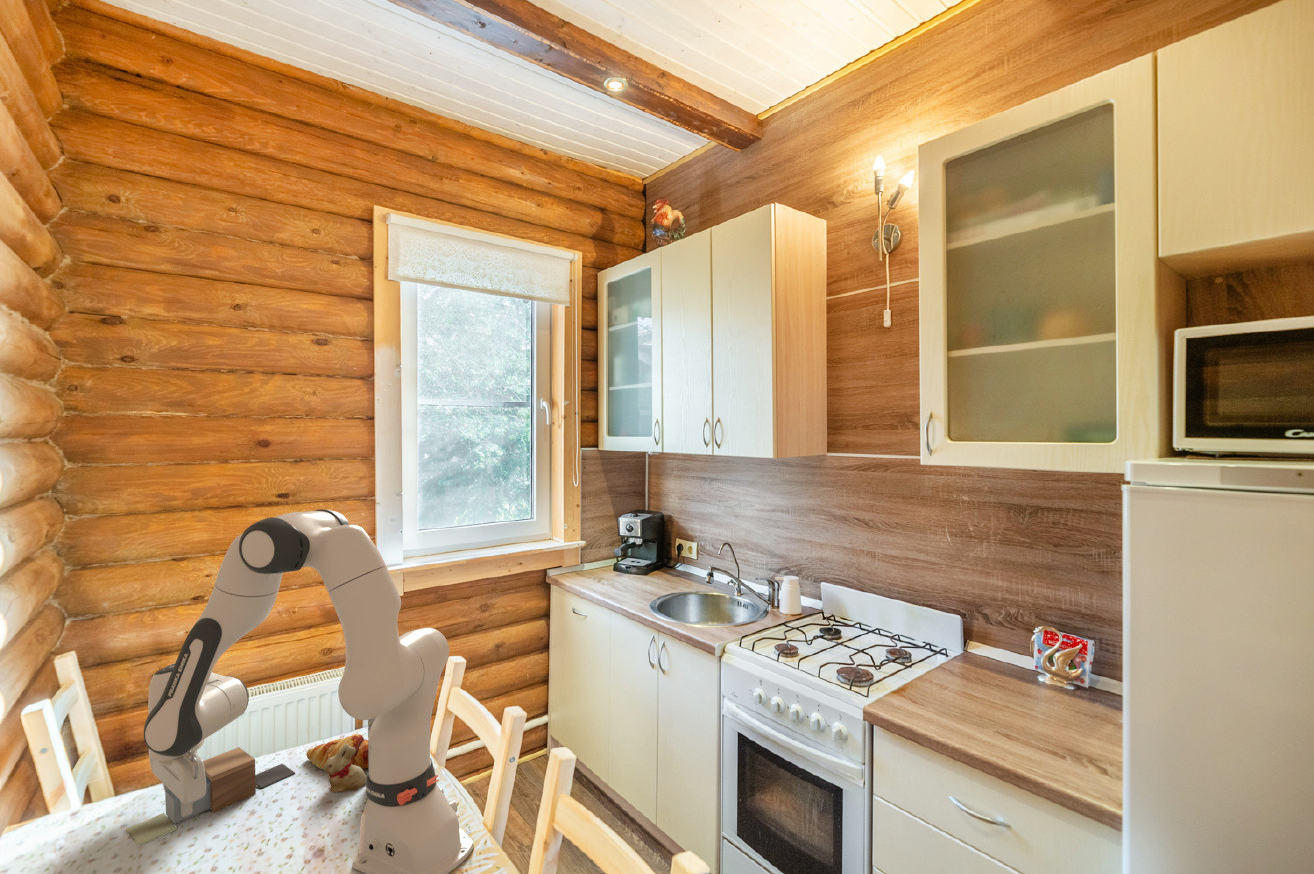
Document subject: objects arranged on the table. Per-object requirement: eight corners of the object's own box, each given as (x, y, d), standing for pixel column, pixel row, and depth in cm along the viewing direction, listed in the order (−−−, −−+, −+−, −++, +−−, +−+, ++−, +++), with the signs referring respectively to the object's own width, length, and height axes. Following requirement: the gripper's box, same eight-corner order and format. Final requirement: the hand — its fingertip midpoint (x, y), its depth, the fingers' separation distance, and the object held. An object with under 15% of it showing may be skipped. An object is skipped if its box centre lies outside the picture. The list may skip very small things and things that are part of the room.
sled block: (226, 800, 129) (225, 777, 129) (174, 823, 121) (173, 799, 121) (216, 792, 132) (216, 769, 132) (165, 814, 124) (165, 790, 124)
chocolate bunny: (338, 778, 138) (337, 735, 137) (370, 779, 137) (370, 736, 137) (322, 792, 132) (321, 748, 132) (356, 794, 132) (355, 749, 131)
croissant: (299, 781, 143) (286, 760, 139) (323, 741, 151) (312, 721, 147) (383, 785, 140) (372, 764, 136) (402, 744, 149) (393, 724, 145)
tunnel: (296, 775, 139) (296, 741, 139) (139, 846, 115) (138, 806, 115) (280, 763, 144) (279, 731, 143) (125, 829, 120) (124, 791, 120)
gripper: (215, 749, 120) (216, 817, 121) (178, 721, 132) (180, 782, 132) (176, 764, 115) (178, 835, 115) (141, 733, 127) (143, 797, 127)
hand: (178, 807), depth 124 cm, fingers open, 7 cm apart
